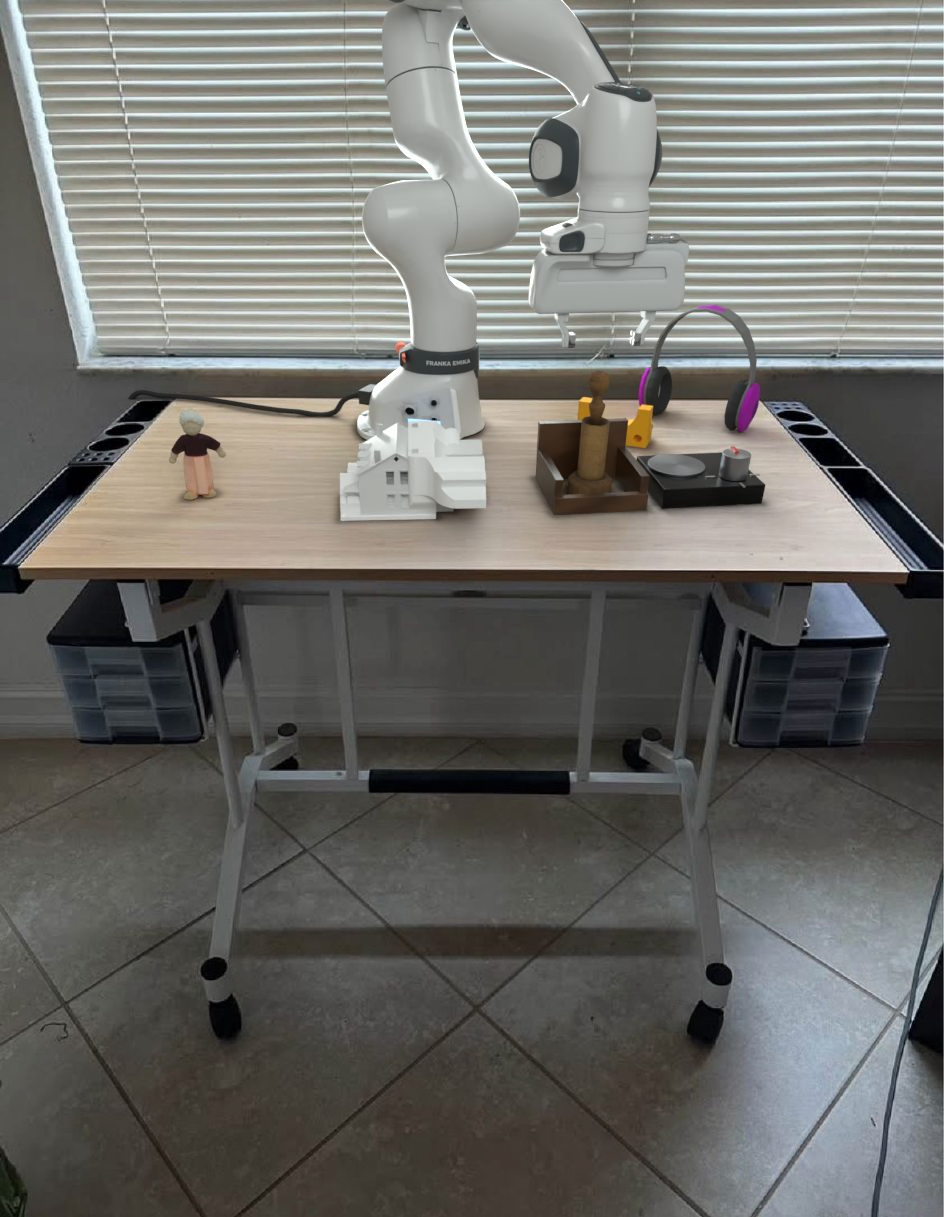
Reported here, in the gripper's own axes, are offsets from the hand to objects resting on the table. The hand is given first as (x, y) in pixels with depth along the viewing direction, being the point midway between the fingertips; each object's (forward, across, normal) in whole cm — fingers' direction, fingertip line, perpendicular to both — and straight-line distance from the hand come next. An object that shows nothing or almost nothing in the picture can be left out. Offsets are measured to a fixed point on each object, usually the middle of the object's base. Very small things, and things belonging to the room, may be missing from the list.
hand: (602, 346), depth 113 cm
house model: (+22, +26, +1) cm, 34 cm away
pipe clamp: (+22, -10, -22) cm, 33 cm away
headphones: (+22, -27, -29) cm, 45 cm away
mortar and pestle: (+22, 0, 0) cm, 22 cm away
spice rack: (+22, 0, 0) cm, 22 cm away
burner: (+18, -13, -2) cm, 23 cm away
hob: (+22, -16, 0) cm, 27 cm away
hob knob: (+19, -20, +3) cm, 28 cm away
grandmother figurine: (+21, +56, -6) cm, 60 cm away
